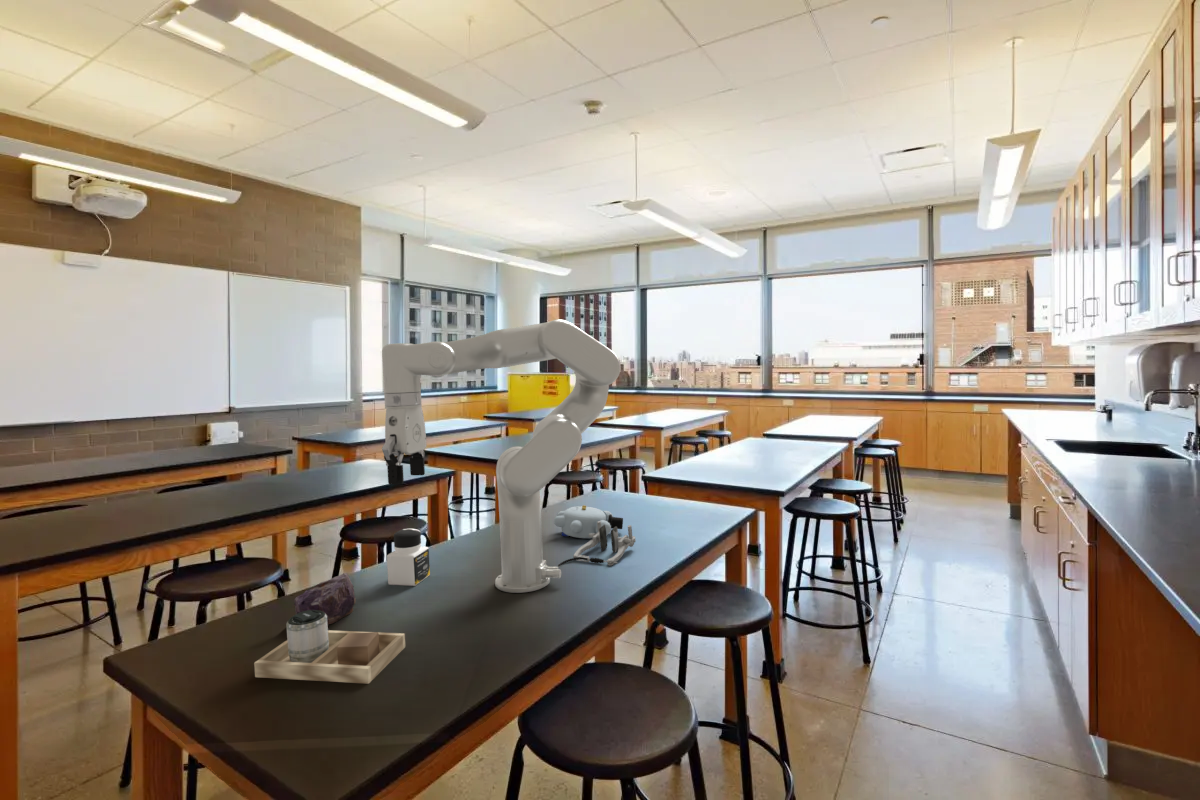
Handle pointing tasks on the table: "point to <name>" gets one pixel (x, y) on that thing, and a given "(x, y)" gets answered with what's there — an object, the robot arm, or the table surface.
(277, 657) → the caddy
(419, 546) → the medicine bottle
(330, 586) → the rock
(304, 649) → the camera lens
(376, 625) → the table surface
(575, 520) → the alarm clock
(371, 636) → the walnut block
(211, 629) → the table surface
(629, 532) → the bike brake
